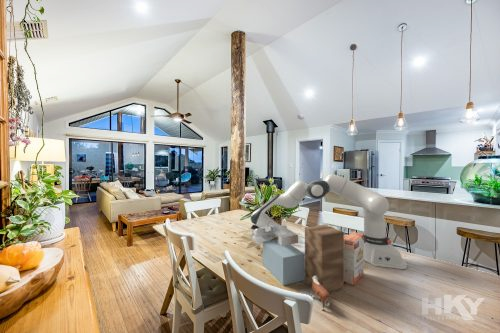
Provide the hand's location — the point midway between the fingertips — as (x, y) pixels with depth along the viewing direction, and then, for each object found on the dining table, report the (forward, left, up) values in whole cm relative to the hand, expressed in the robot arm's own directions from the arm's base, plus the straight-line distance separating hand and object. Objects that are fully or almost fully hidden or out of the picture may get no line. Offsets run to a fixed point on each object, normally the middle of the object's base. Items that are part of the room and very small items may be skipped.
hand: (275, 227), depth 120 cm
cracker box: (-39, -5, -21) cm, 44 cm away
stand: (-27, +8, -21) cm, 35 cm away
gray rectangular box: (-5, +5, -21) cm, 22 cm away
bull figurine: (-27, +21, -21) cm, 40 cm away
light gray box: (-4, +7, -2) cm, 8 cm away
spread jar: (+27, -37, -21) cm, 51 cm away
